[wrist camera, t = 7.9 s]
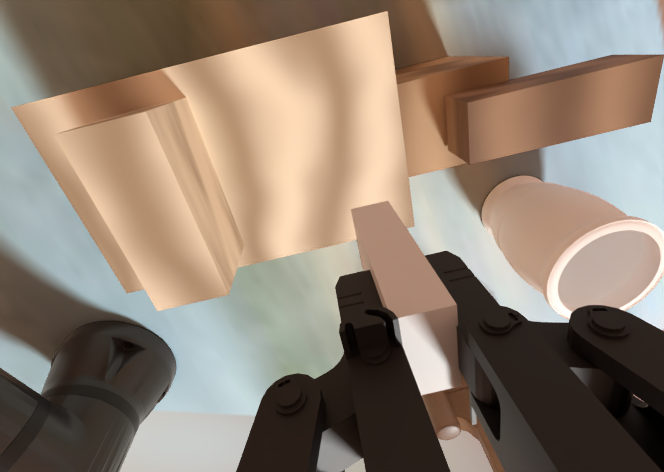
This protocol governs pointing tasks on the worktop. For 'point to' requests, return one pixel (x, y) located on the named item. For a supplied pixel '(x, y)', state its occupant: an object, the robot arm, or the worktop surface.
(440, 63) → the toolbox
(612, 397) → the robot arm
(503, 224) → the jar
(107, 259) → the lid
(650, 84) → the wooden block
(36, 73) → the worktop surface
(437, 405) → the wooden toy
